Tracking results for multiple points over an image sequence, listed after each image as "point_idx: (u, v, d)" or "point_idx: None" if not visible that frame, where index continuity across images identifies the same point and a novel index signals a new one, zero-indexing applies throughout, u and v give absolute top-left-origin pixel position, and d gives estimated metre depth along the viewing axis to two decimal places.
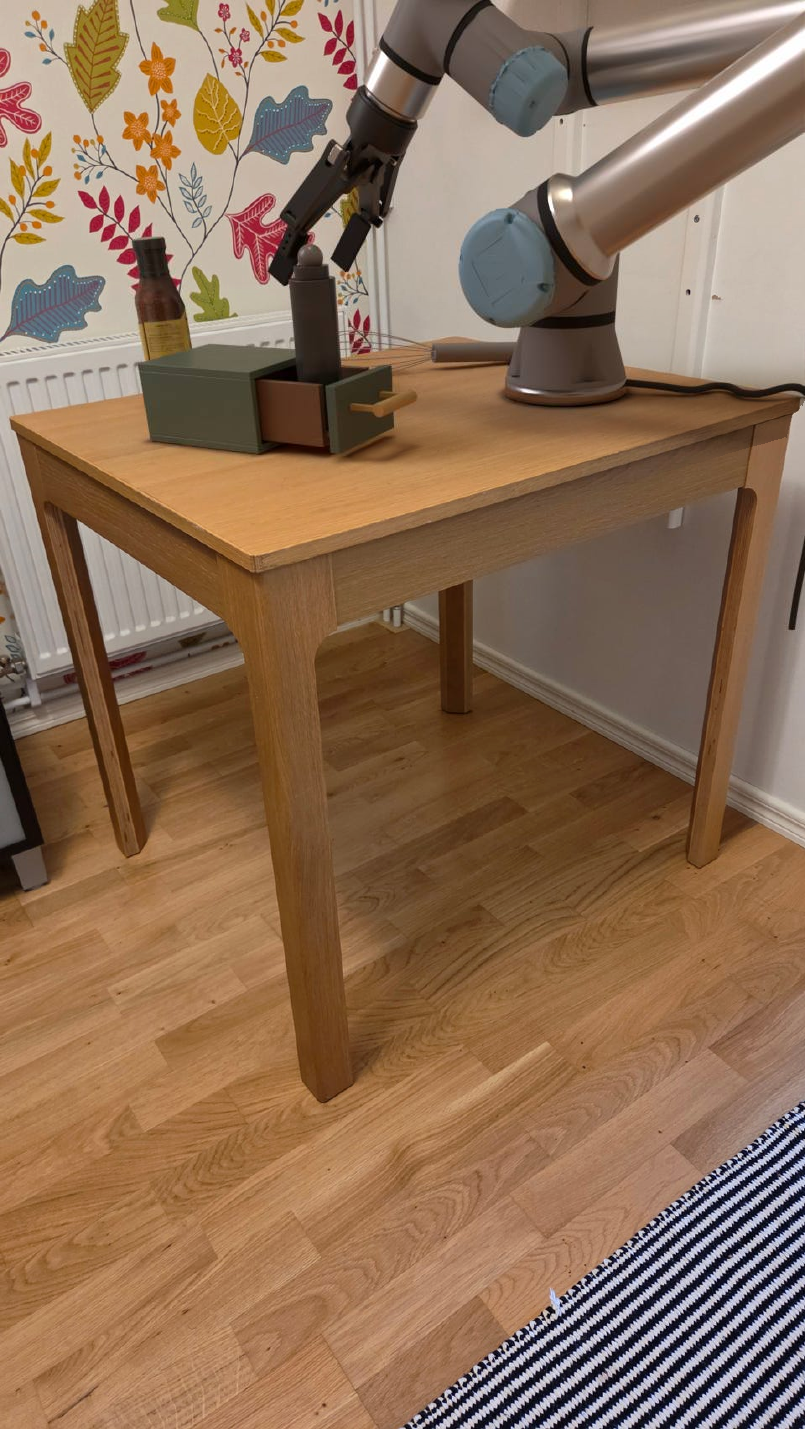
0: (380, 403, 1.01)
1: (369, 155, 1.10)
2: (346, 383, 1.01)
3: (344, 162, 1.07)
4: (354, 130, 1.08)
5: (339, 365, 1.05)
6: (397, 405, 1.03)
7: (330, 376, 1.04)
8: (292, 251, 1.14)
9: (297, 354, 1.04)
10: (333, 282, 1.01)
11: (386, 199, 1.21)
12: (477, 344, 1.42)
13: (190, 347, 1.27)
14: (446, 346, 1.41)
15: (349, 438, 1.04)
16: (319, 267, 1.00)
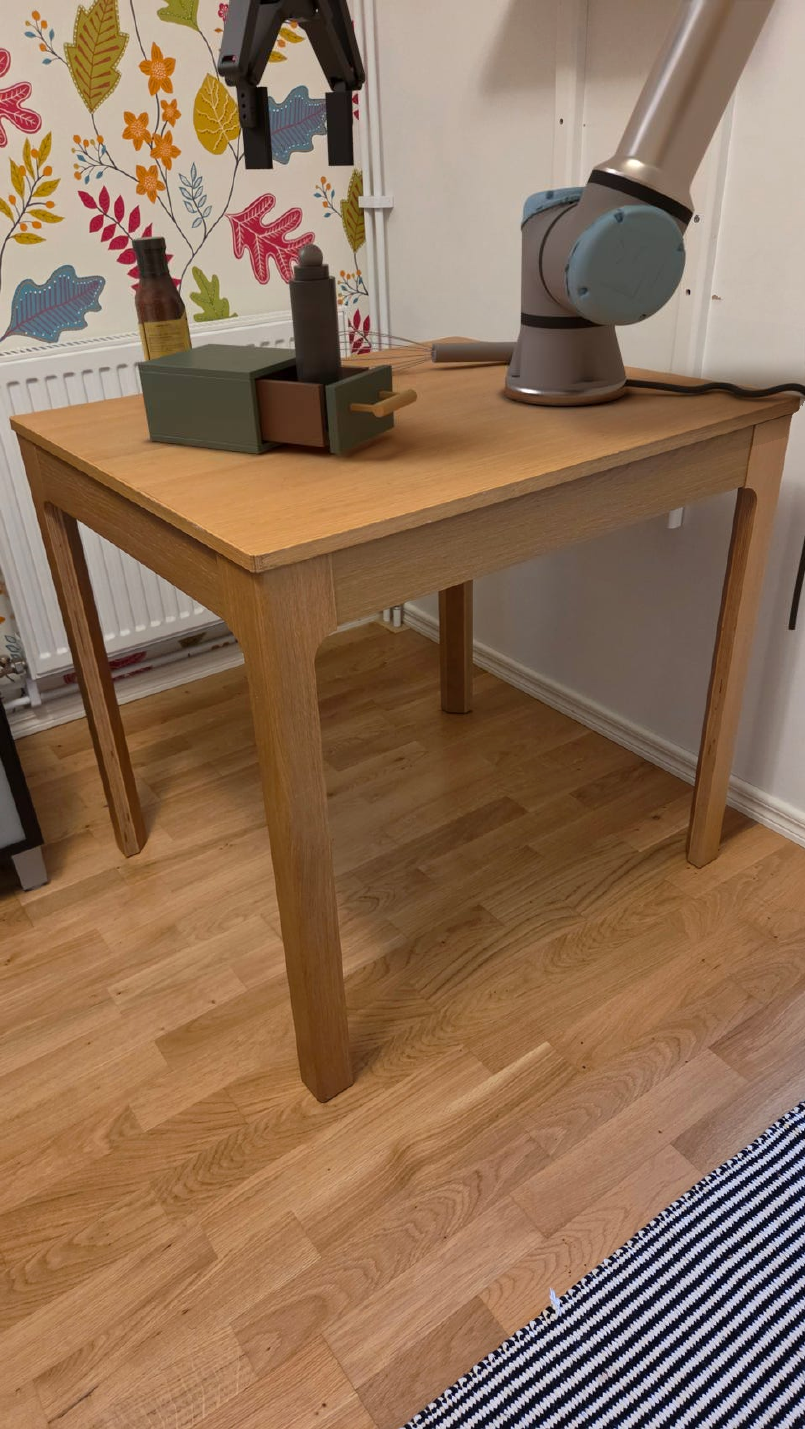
0: (380, 403, 1.01)
1: None
2: (346, 383, 1.01)
3: None
4: None
5: (339, 365, 1.05)
6: (397, 405, 1.03)
7: (330, 376, 1.04)
8: (256, 116, 0.90)
9: (297, 354, 1.04)
10: (333, 282, 1.01)
11: (352, 50, 0.98)
12: (477, 344, 1.42)
13: (190, 347, 1.27)
14: (446, 346, 1.41)
15: (349, 438, 1.04)
16: (319, 267, 1.00)
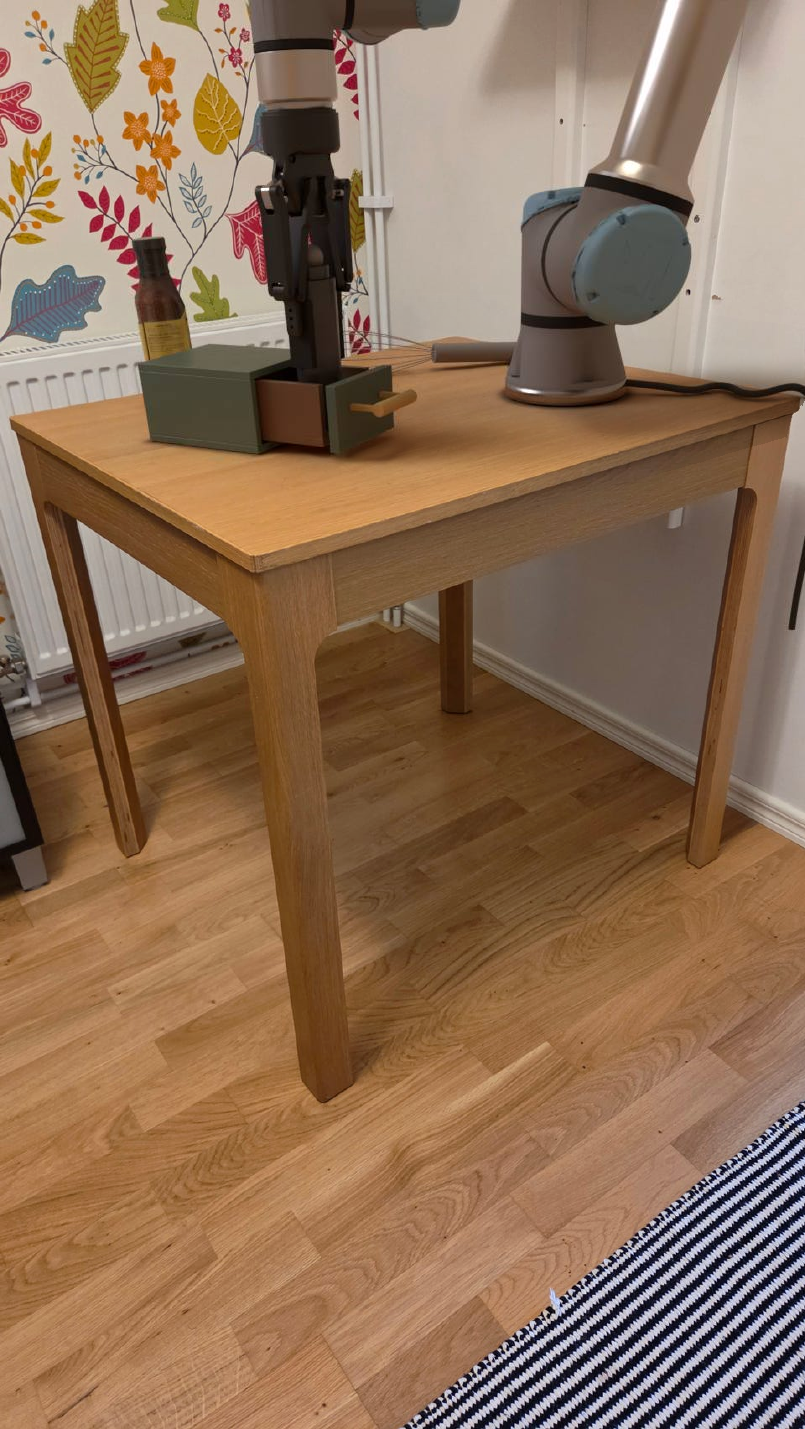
0: (380, 403, 1.01)
1: (305, 171, 0.95)
2: (346, 383, 1.01)
3: (280, 196, 0.93)
4: (274, 151, 0.93)
5: (339, 365, 1.05)
6: (397, 405, 1.03)
7: (330, 376, 1.04)
8: (301, 326, 1.01)
9: None
10: (333, 282, 1.01)
11: (345, 250, 1.04)
12: (477, 344, 1.42)
13: (190, 347, 1.27)
14: (446, 346, 1.41)
15: (349, 438, 1.04)
16: (319, 267, 1.00)
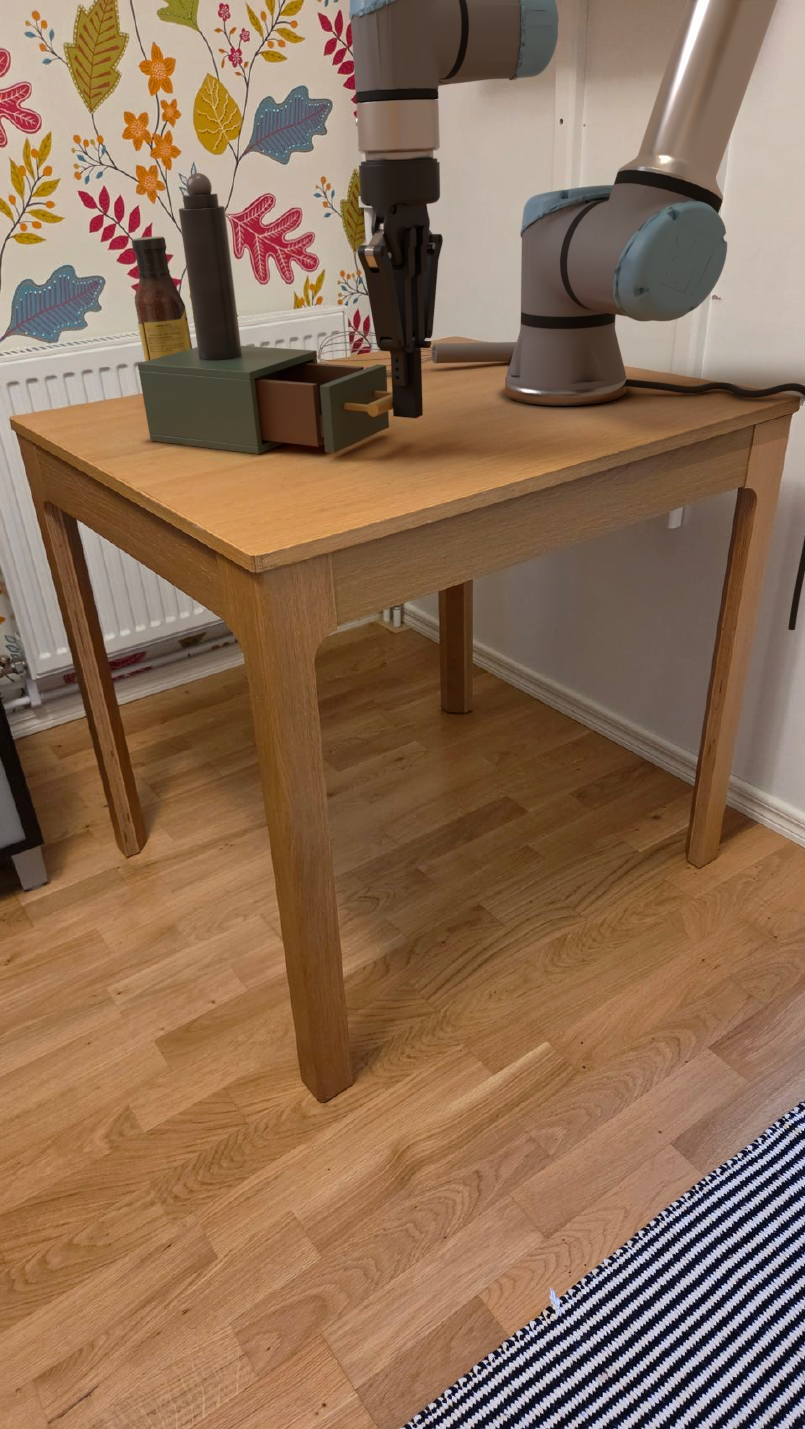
0: (374, 402, 1.01)
1: (404, 222, 0.93)
2: (340, 383, 1.01)
3: (384, 256, 0.91)
4: (375, 202, 0.91)
5: (232, 295, 1.08)
6: (391, 404, 1.03)
7: (222, 305, 1.07)
8: (407, 376, 1.00)
9: (190, 283, 1.07)
10: (222, 211, 1.04)
11: (429, 304, 1.00)
12: (478, 344, 1.42)
13: (190, 347, 1.27)
14: (447, 346, 1.41)
15: (343, 437, 1.04)
16: (206, 195, 1.02)
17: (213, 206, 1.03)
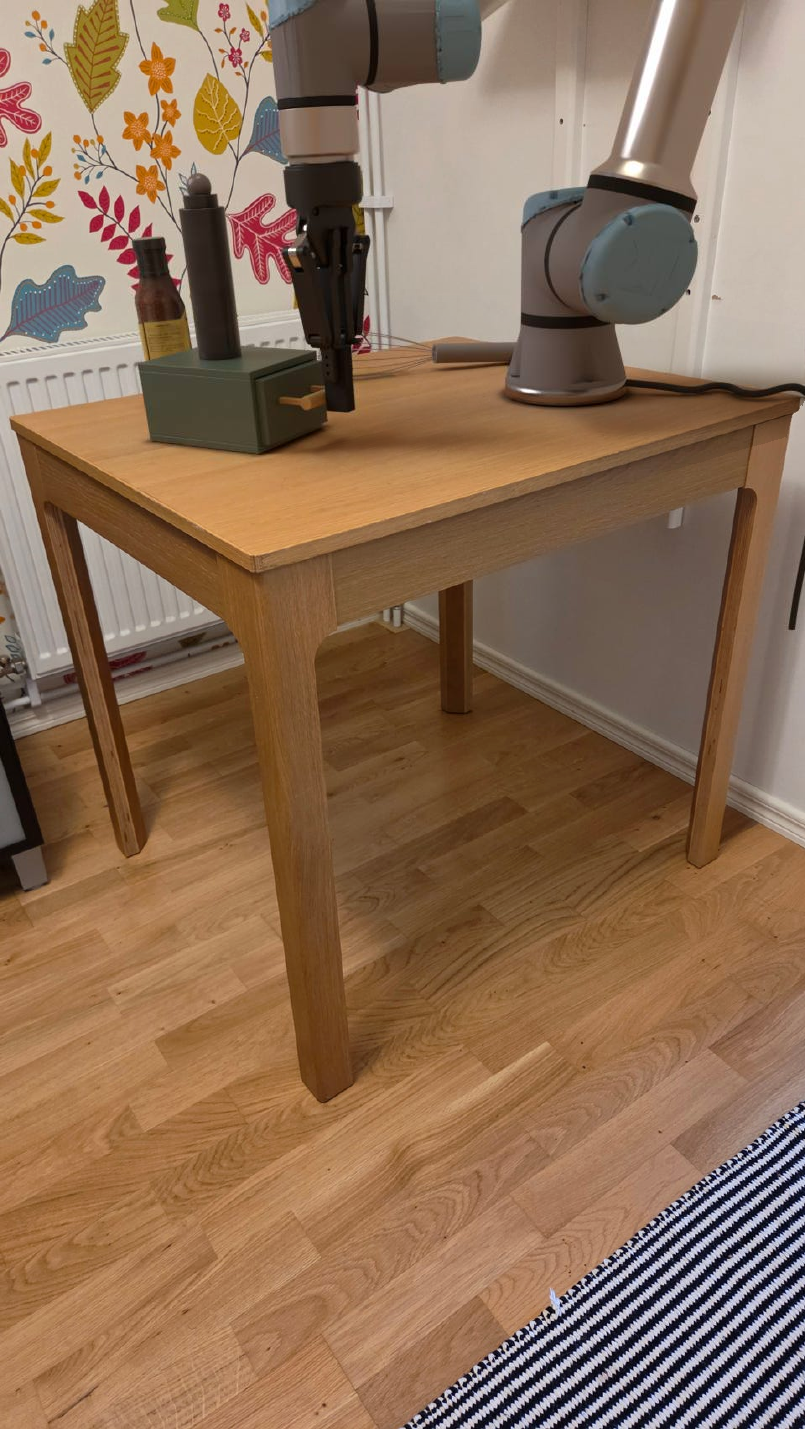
0: (307, 396, 1.05)
1: (328, 223, 0.97)
2: (275, 377, 1.05)
3: (307, 256, 0.95)
4: (298, 204, 0.95)
5: (232, 295, 1.08)
6: (325, 398, 1.07)
7: (222, 305, 1.07)
8: (337, 372, 1.04)
9: (190, 283, 1.07)
10: (222, 211, 1.04)
11: (358, 302, 1.04)
12: (478, 344, 1.42)
13: (190, 347, 1.27)
14: (447, 346, 1.41)
15: (279, 430, 1.08)
16: (206, 195, 1.02)
17: (213, 206, 1.03)
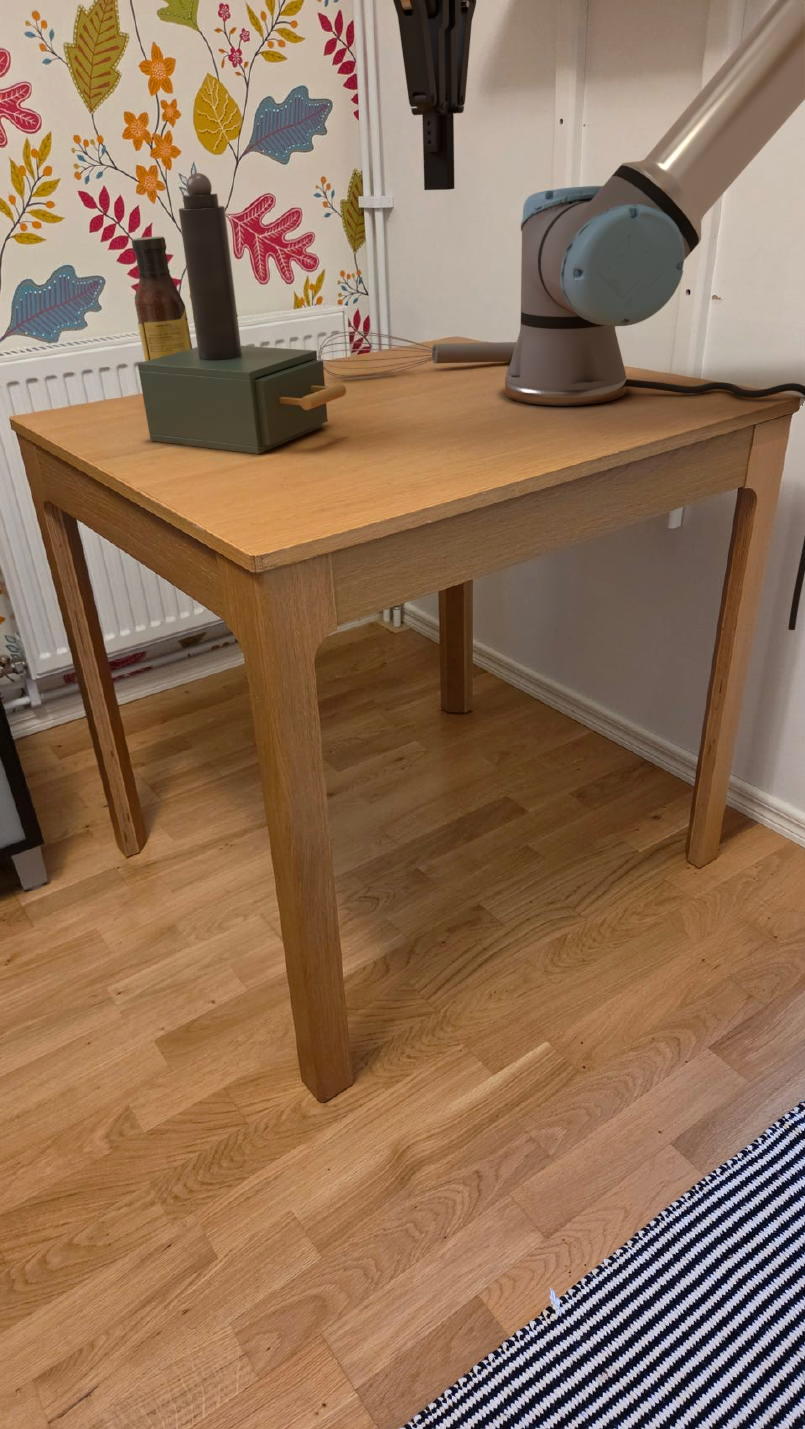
0: (307, 396, 1.05)
1: None
2: (275, 377, 1.05)
3: None
4: None
5: (232, 295, 1.08)
6: (325, 398, 1.07)
7: (222, 305, 1.07)
8: (439, 141, 0.98)
9: (190, 283, 1.07)
10: (222, 211, 1.04)
11: (462, 67, 0.98)
12: (478, 344, 1.42)
13: (190, 347, 1.27)
14: (447, 346, 1.41)
15: (279, 430, 1.08)
16: (206, 195, 1.02)
17: (213, 206, 1.03)
